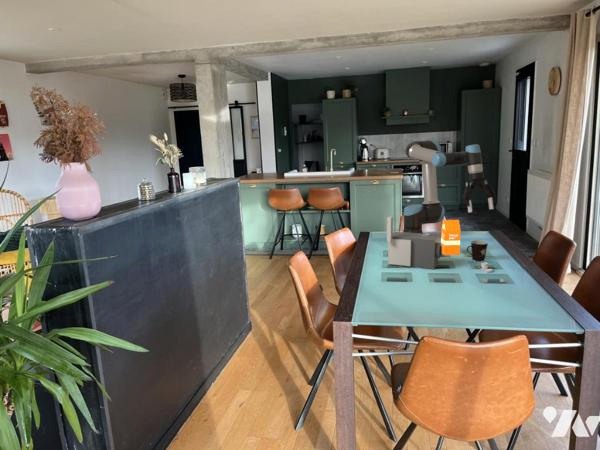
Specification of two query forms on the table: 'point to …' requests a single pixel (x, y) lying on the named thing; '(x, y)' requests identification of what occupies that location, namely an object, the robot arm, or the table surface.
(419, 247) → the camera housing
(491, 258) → the table surface
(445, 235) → the orange juice
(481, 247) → the coffee mug
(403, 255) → the side door
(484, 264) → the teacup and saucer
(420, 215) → the robot arm
